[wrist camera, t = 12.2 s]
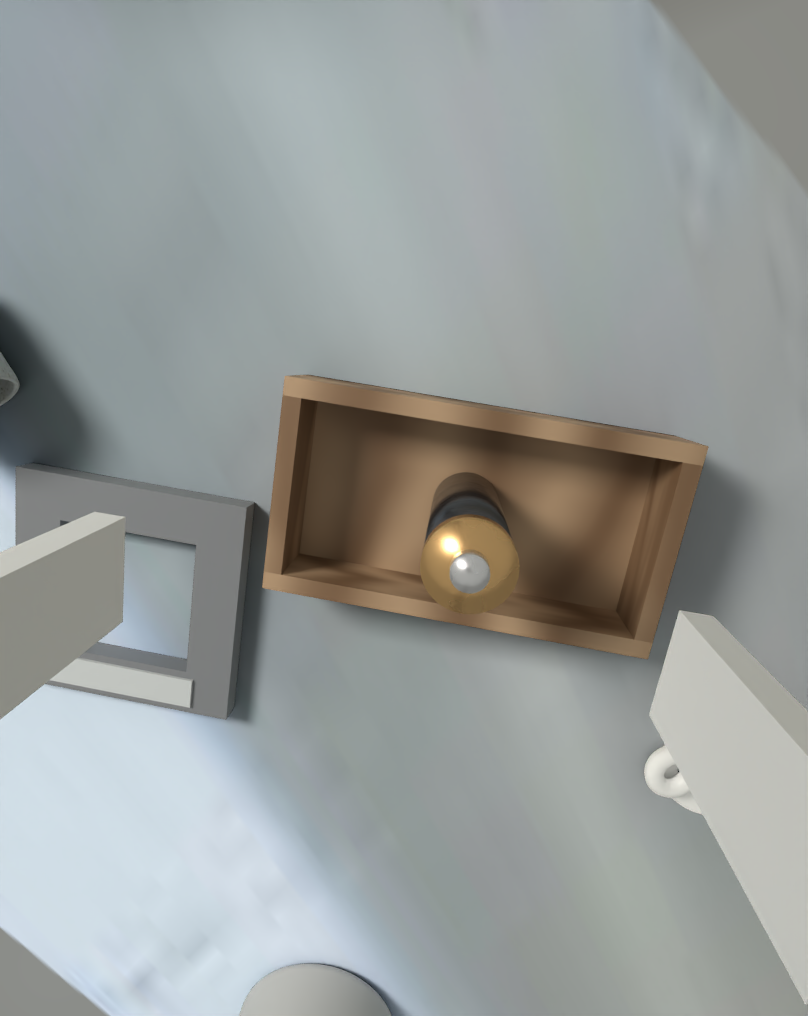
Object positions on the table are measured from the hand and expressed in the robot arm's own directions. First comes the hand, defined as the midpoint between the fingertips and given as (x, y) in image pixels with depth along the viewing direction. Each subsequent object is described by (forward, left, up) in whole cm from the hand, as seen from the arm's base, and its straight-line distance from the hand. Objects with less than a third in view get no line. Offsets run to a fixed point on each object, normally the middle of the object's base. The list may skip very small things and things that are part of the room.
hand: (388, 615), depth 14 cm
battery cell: (+2, +2, -22) cm, 22 cm away
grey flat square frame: (+12, -18, -23) cm, 32 cm away
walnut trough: (+2, +3, -23) cm, 24 cm away
